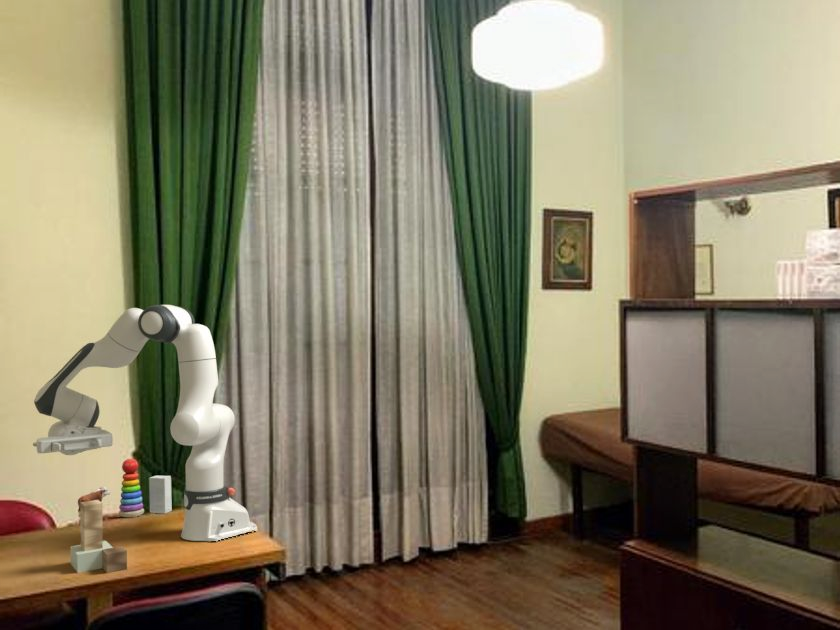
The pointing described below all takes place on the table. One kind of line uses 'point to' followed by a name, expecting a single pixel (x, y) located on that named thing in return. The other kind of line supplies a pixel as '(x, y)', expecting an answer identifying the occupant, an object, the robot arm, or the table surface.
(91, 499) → the bull figurine
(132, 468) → the stacking toy
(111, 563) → the walnut block
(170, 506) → the skincare box
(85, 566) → the plinth
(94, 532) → the oak post
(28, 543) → the table surface
